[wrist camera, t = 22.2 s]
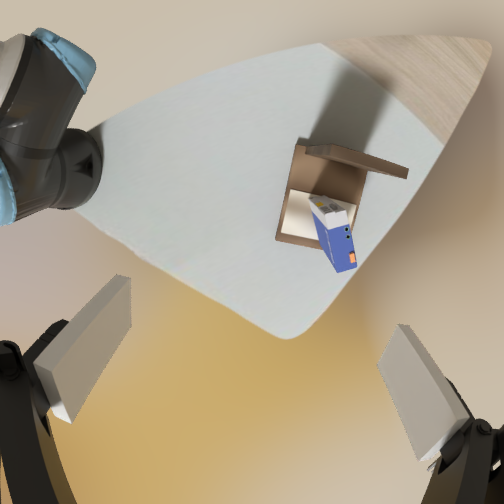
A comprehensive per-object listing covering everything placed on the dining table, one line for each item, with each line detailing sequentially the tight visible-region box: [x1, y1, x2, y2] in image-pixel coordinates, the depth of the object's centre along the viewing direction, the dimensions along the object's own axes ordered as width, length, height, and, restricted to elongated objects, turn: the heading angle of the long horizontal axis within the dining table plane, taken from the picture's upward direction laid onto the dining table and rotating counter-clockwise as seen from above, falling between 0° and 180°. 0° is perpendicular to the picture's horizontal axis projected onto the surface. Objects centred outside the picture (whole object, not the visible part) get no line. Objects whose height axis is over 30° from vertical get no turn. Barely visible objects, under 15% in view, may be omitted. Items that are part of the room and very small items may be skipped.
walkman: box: [308, 195, 357, 273], centre depth 39 cm, size 8×3×12 cm, turn 17°
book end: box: [275, 144, 409, 250], centre depth 37 cm, size 16×12×18 cm
